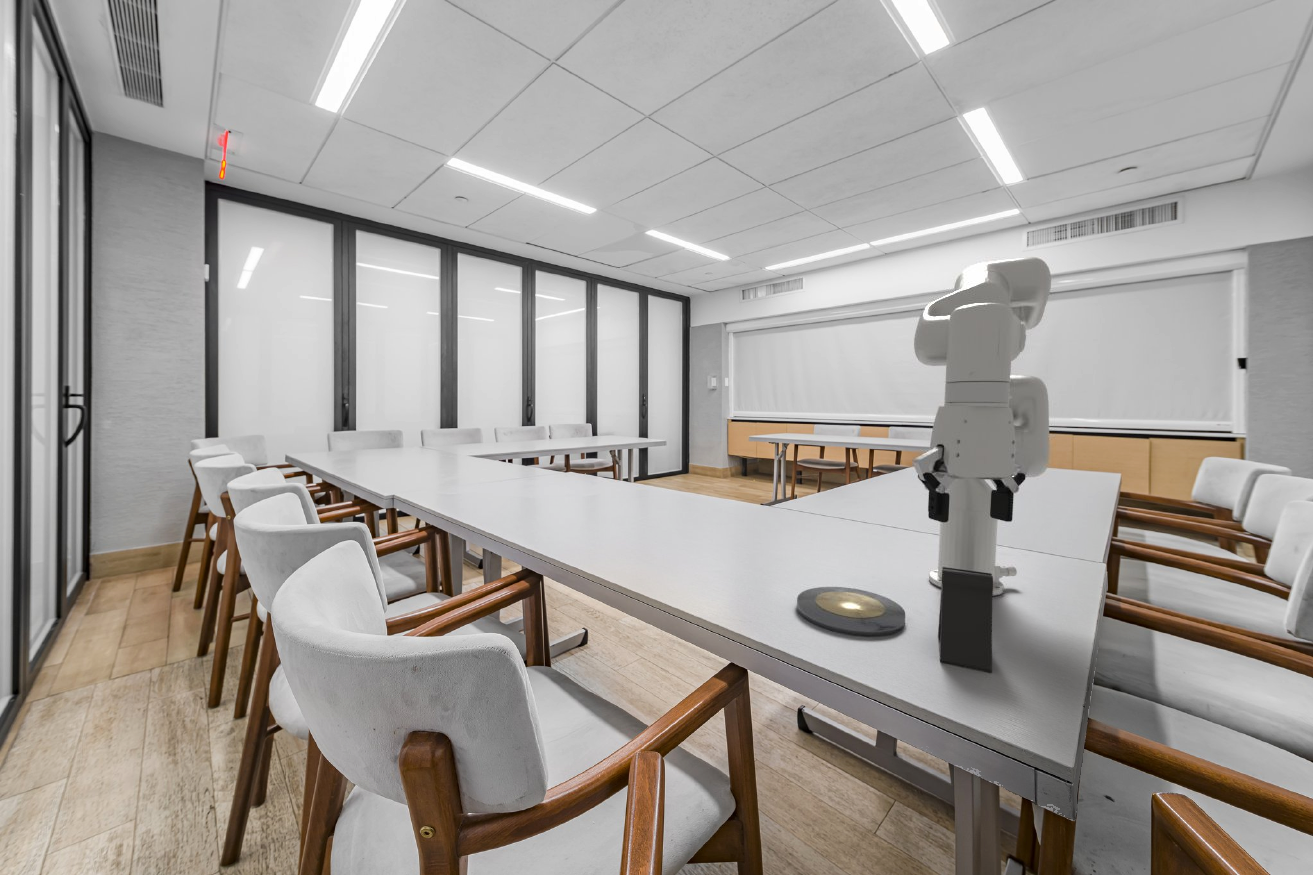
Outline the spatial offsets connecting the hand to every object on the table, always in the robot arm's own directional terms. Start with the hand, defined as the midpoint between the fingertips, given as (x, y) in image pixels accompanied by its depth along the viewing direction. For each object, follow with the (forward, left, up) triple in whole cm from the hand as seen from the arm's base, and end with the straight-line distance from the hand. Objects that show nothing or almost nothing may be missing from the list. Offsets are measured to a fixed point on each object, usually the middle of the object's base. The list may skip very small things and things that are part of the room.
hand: (969, 520), depth 71 cm
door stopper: (0, 0, -20) cm, 20 cm away
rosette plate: (+9, -15, -19) cm, 26 cm away
